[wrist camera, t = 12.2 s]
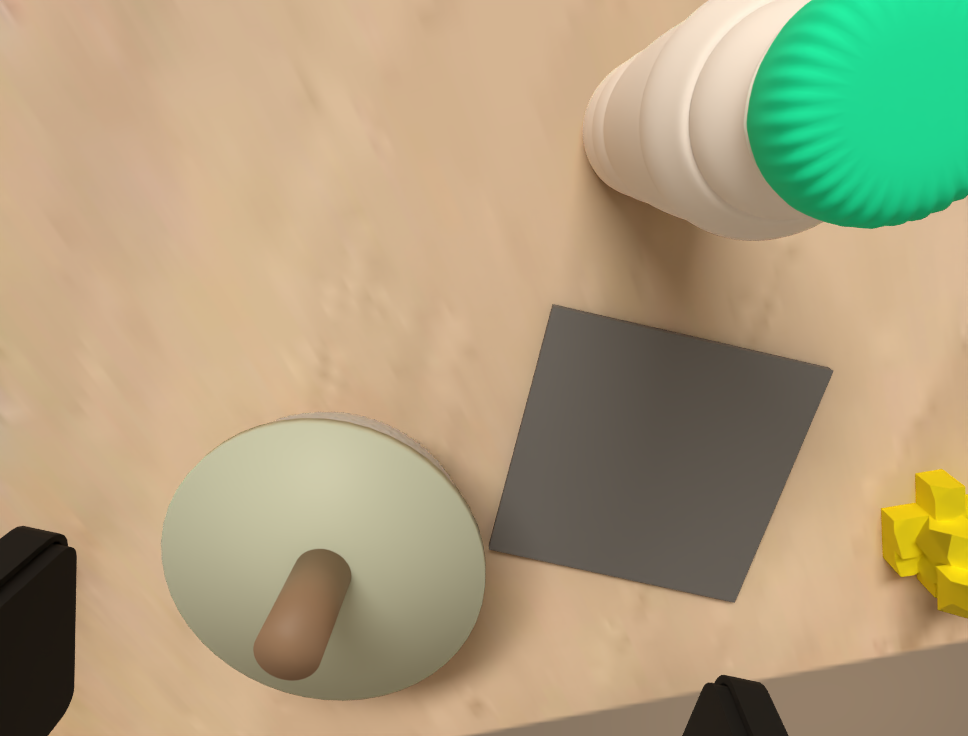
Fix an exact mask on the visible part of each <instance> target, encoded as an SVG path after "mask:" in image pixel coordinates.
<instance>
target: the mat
mask: <svg viewBox="0 0 968 736" xmlns="http://www.w3.org/2000/svg"><path fill="white" fill-rule="evenodd" d="M832 373H833V370H831V369H830V368H828V367H824V366H820V365H815V364H811V363H807V362H802V361H798V360H793V359H789V358H785V357H780V356H776V355H772V354H767V353H763V352H759V351H754V350H750V349H746V348H741V347H737V346H732V345H728V344H724V343H719V342H715V341H711V340H706V339H702V338H698V337H693V336H689V335H685V334H680V333H676V332H671V331H667V330H663V329H658V328H654V327H650V326H645V325H641V324H637V323H632V322H628V321H624V320H619V319H615V318H610V317H606V316H602V315H597V314H593V313H589V312H584V311H580V310H576V309H571V308H567V307H563V306H558V305H554V304H553V305H552V309H551V312H550V316H549V320H548V324H547V327H546V331H545V335H544V339H543V343H542V346H541V350H540V354H539V358H538V361H537V365H536V369H535V373H534V376H533V380H532V384H531V388H530V392H529V395H528V399H527V403H526V407H525V410H524V414H523V418H522V422H521V426H520V429H519V433H518V437H517V441H516V444H515V448H514V452H513V456H512V459H511V463H510V467H509V471H508V475H507V478H506V482H505V486H504V490H503V493H502V497H501V501H500V505H499V509H498V512H497V516H496V520H495V524H494V527H493V531H492V535H491V539H490V542H489V550H494V551H498V552H503V553H508V554H512V555H517V556H521V557H526V558H531V559H535V560H540V561H545V562H549V563H554V564H558V565H563V566H568V567H572V568H577V569H582V570H586V571H591V572H595V573H600V574H605V575H609V576H614V577H618V578H623V579H628V580H632V581H637V582H642V583H646V584H651V585H655V586H660V587H665V588H669V589H674V590H679V591H683V592H688V593H692V594H697V595H702V596H706V597H711V598H716V599H720V600H725V601H729V602H734V603H735V600H736V598H737V596H738V593H739V591H740V589H741V586H742V584H743V582H744V579H745V577H746V575H747V572H748V570H749V568H750V565H751V563H752V561H753V558H754V556H755V554H756V551H757V549H758V547H759V544H760V542H761V540H762V537H763V535H764V533H765V530H766V528H767V525H768V523H769V521H770V518H771V516H772V514H773V511H774V509H775V507H776V504H777V502H778V500H779V497H780V495H781V493H782V490H783V488H784V486H785V483H786V481H787V479H788V476H789V474H790V472H791V469H792V467H793V465H794V462H795V460H796V458H797V455H798V453H799V450H800V448H801V446H802V443H803V441H804V439H805V436H806V434H807V432H808V429H809V427H810V425H811V422H812V420H813V418H814V415H815V413H816V411H817V408H818V406H819V404H820V401H821V399H822V397H823V394H824V392H825V390H826V387H827V385H828V383H829V380H830V378H831V376H832Z"/></svg>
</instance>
